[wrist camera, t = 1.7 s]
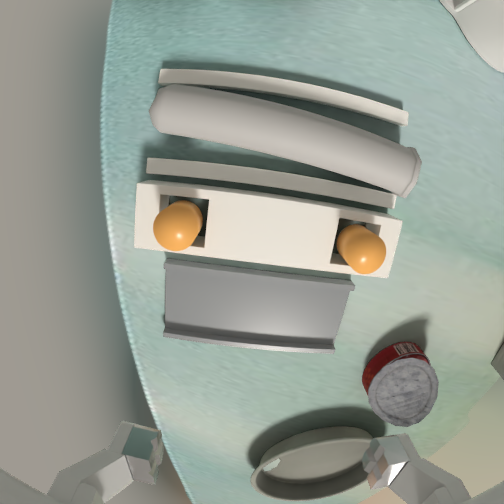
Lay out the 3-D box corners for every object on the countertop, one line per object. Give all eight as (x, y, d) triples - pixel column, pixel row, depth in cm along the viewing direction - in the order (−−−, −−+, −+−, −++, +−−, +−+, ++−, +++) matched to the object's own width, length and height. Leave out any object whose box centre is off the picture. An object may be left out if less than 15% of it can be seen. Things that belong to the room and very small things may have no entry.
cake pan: (345, 397, 38) (353, 419, 34) (397, 446, 44) (404, 462, 40) (221, 457, 42) (220, 477, 38) (297, 493, 49) (299, 509, 44)
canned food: (364, 375, 42) (351, 425, 34) (369, 329, 38) (357, 384, 30) (430, 380, 37) (426, 432, 29) (445, 334, 33) (447, 390, 25)
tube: (137, 140, 23) (405, 207, 25) (144, 82, 20) (428, 158, 22) (158, 127, 27) (387, 184, 29) (165, 77, 24) (405, 141, 26)
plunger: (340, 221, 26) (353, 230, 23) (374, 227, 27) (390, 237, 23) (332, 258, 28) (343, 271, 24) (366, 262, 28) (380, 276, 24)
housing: (163, 72, 24) (153, 62, 21) (403, 113, 26) (420, 110, 23) (145, 237, 30) (134, 247, 26) (374, 266, 31) (387, 278, 28)
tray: (167, 258, 30) (163, 263, 29) (350, 280, 32) (355, 285, 30) (166, 329, 33) (163, 336, 32) (331, 346, 34) (334, 353, 33)
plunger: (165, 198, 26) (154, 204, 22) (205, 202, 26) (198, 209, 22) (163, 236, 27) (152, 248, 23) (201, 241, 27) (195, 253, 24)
